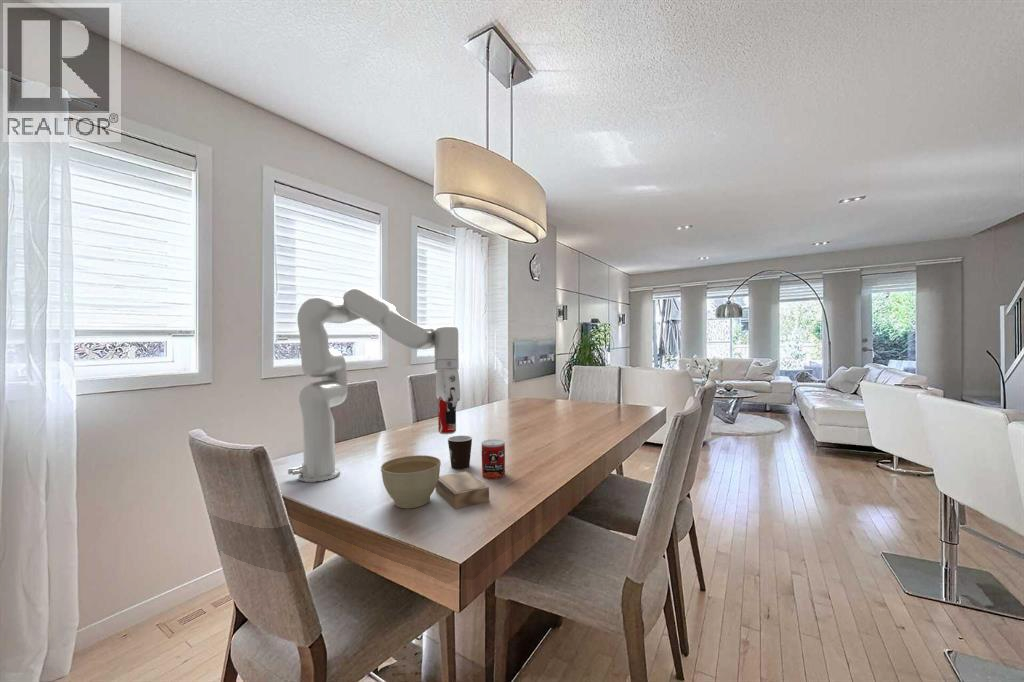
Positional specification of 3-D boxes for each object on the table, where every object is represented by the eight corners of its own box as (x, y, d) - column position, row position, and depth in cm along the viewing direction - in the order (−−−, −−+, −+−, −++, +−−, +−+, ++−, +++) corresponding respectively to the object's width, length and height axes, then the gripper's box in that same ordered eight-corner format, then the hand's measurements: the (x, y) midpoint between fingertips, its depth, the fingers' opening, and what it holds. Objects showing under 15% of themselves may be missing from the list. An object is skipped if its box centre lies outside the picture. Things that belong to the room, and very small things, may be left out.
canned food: (481, 479, 132) (481, 445, 132) (482, 471, 140) (482, 439, 140) (505, 479, 133) (504, 444, 133) (505, 471, 141) (504, 438, 141)
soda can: (438, 430, 133) (438, 393, 133) (456, 430, 134) (455, 393, 134) (438, 434, 128) (437, 396, 128) (455, 434, 128) (455, 395, 128)
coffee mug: (471, 470, 142) (470, 441, 142) (446, 470, 142) (445, 441, 142) (474, 460, 154) (474, 433, 154) (451, 460, 154) (451, 433, 154)
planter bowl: (397, 490, 124) (396, 454, 124) (448, 492, 122) (448, 455, 122) (370, 512, 108) (369, 471, 108) (429, 516, 106) (428, 473, 106)
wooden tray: (455, 509, 110) (455, 493, 110) (435, 490, 124) (435, 476, 124) (489, 501, 115) (488, 486, 115) (466, 484, 129) (466, 470, 129)
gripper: (468, 366, 125) (468, 425, 125) (448, 363, 140) (448, 416, 140) (444, 367, 121) (445, 428, 122) (426, 364, 136) (427, 418, 136)
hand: (447, 421), depth 131 cm, fingers closed on soda can, 5 cm apart
